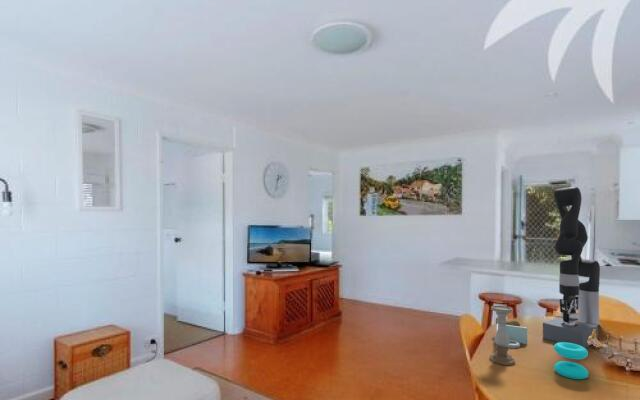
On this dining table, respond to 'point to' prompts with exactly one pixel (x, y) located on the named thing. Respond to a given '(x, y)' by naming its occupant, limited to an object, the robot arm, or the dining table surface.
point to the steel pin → (571, 319)
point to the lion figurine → (511, 322)
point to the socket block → (568, 332)
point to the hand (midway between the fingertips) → (569, 320)
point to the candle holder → (502, 337)
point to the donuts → (569, 367)
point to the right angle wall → (516, 335)
